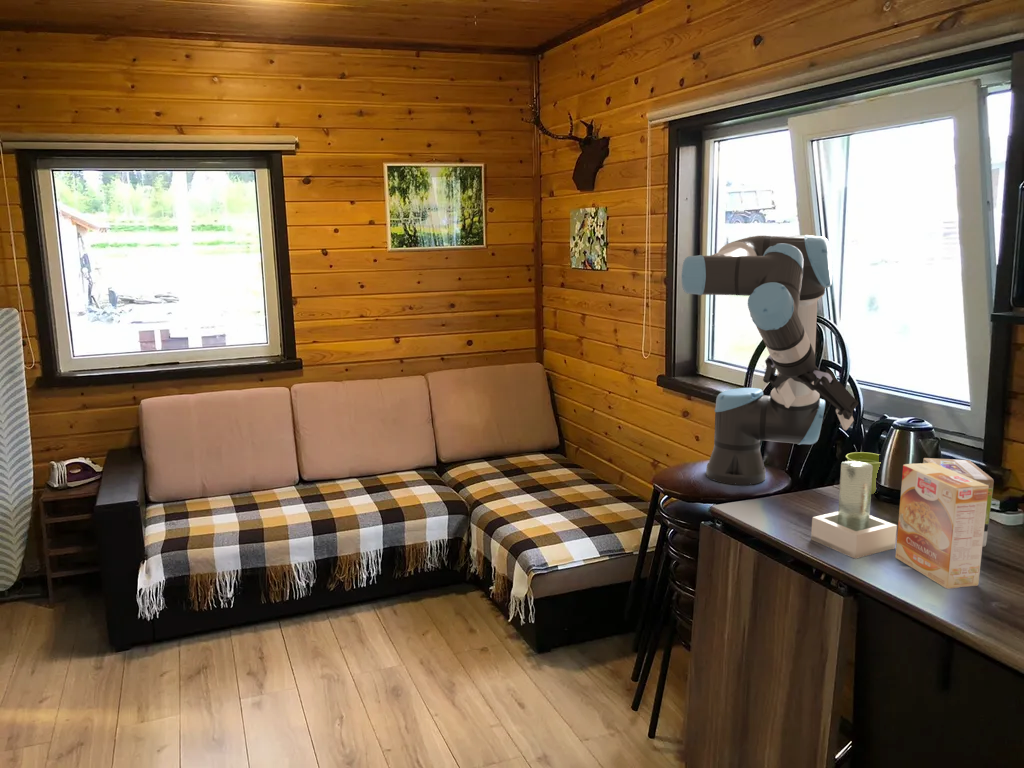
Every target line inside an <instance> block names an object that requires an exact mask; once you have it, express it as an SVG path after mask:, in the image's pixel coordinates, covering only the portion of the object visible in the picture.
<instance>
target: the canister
mask: <svg viewBox="0 0 1024 768" xmlns="http://www.w3.org/2000/svg"><path fill="white" fill-rule="evenodd" d="M872 470H873V466H872V465H871V464H869V463H865V462H860V461H848V460H845V461H842V462H841V464H840V477H839V496H838V498H839V499H838V524H839V525H842V526H844V527H846V528H849V529H851V530H854V531H860V530H864V529H868V528H869V518H870V515H871V499H872V494H871V486H872Z"/></svg>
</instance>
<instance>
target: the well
mask: <svg viewBox="0 0 1024 768" xmlns="http://www.w3.org/2000/svg"><path fill="white" fill-rule="evenodd" d="M811 518H812V519H811V533H810V534H811V535H810V540H811V541H813V542H816V543H817V544H818V543H819V544H820V545H823V546H825V547H828V549H829V548H830V549H832V550H834V551H836V552H838V553H840V554H843V555H846V556H848V557H850V558H852V559H861V558H863V557H867V556H872V555H874V554H879V553H883V552H886V551H891V550H894V549H896V544H897V532H898V524H896V523H893V522H889V521H887V520H884V519H881V518H879V517H875V516H873V515H871V514H870V518H869V528H868V529H864V530H860V531H854V530H851V529H849V528H846V527H844V526H842V525H839V524H838V511H833V512H829V513H825V514H820V515H817V516H812V517H811Z"/></svg>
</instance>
